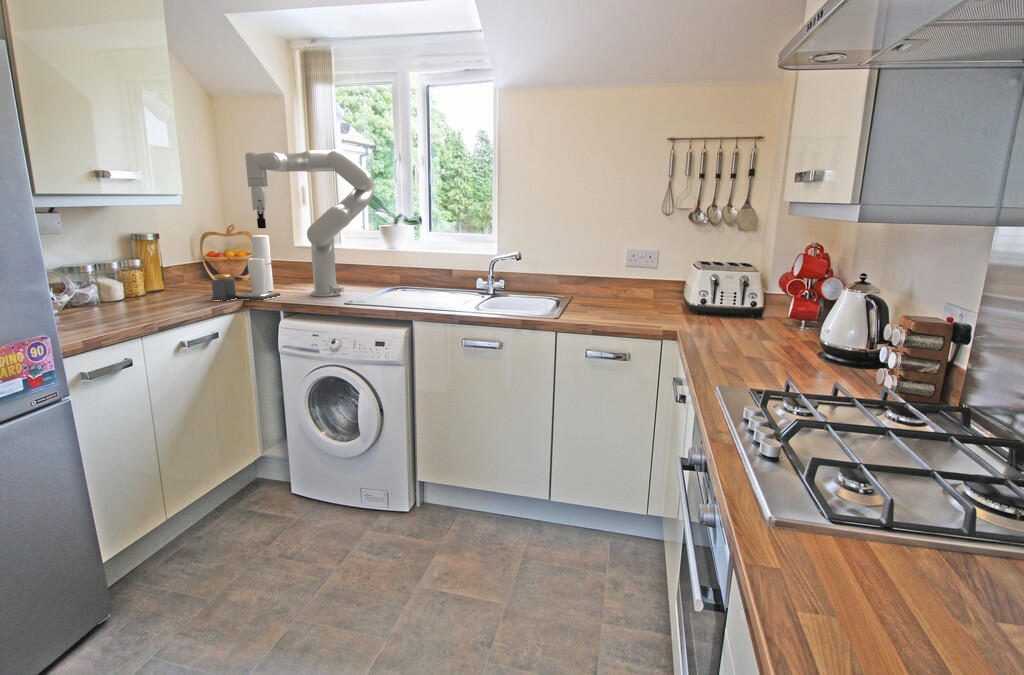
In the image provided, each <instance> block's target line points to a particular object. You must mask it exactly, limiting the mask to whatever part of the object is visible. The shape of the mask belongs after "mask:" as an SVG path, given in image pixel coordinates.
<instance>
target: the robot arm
mask: <svg viewBox="0 0 1024 675" xmlns="http://www.w3.org/2000/svg"><path fill="white" fill-rule="evenodd" d="M244 157H245V167H246V175H247V186H248V187H249V188H250V189H251V190H250V194H251V206H252V211H253V212H256V223H257V228H258V229H267V226H266V218H265V211H266V210H267V205H266V204H267V203H266V202H267V199H266V198H267V197H266V188H268V187H269V186H268V175H267V171H274V172H277V173H279V172H281V173H285V172H287V173H288V172H289V173H290V172H305V173H306V172H307V173H308V172H309V173H310V172H311V173H312V172H313V173H314V172H315V173H316V172H317V173H319V172H335V173H336V174H337V175H339V176H340V177H341V178H343V179H344V180H345V181H346V182H347V183H348V184H349V185H351V186H352V187H353V189H352V191H351V192H350V193H349V194H348V195H346V196H345V198H344V199H342V200H341V201H340V202H338V204H336V205H334V206H331V207H330V208H328V209H327V210H326V211H325V212H324V213H323V214H321V216H319V218H317V219H316V220H315V221H314V222H313V223H312V224H311V225H310V226H308V227H307V228H308V229H307V231H306V238H307V240H308V241H309V242H310V243H311V244H310V245H311V248H310V249H311V261H312V263H311V265H312V276H313V278H312V279H313V280H312V281H313V290H314V291H311V292H310V296H312V297H321V298H322V297H335V296H340V295H341V293H343V292H344V290H345V287H343V286H340V284H339V283H337V273H336V271H337V270H336V255H335V237H336V236H337V235H338V234H339V233H341V231H342V230H343V229H344V228H346V227H347V226H348V225H349V224H350V223H351V222H352V221H353V220H354V218H356V217H357V216H358V215H359V214H360V213H361V212H362V211H363V210H364V209H365V208H366V207H367V206H368V205H369V203H371V201H372V199H373V196H374V192H375V183H374V180H373V176H372V174H371V173H370V172H369V171H368V170H366V169H365V168H364V167H363V166H361V165H360V164H359V163H357V162H356V161H355V160H354V159H353V158H351V157H350V156H349V155H348V153H346V151H344V150H343V149H339V148H336V149H331V150H330V149H327V150H306V151H302V152H297V153H295V152H294V153H293V152H292V153H279V152H277V151H268V152H257V151H256V152H255V151H250V152H246V153H245V156H244Z"/></svg>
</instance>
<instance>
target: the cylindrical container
mask: <svg viewBox="0 0 1024 675" xmlns="http://www.w3.org/2000/svg"><path fill="white" fill-rule="evenodd" d="M250 238H251V246H252V256H253V257H252V258H264V259H265V291H266V292H268V291H273V290H274V280H273V278H274V277H273V268H272V258H271V248H270V246H271V245H270V236H269V235H265V234H260V235H259V234H258V235H251V236H250ZM274 291H275V290H274ZM274 291H273V292H274Z"/></svg>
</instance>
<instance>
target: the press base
mask: <svg viewBox="0 0 1024 675" xmlns="http://www.w3.org/2000/svg"><path fill="white" fill-rule="evenodd" d="M235 283H236V282H235V278H228V279H227V280H219V279H213V280H212V279H211V286H212V287H211V289H212V297H211V301H212V300H220V301H219V302H221V300H222V301H227V300H231V299H235V298H237V299H249V300H248V301H250V300H261V301H260V302H263V301H262V300H264V299H267V298H272V297H277V296H280V297H281V293H280V292H266V293H265V294H263V295H253V294H252V292H249V293H244V294H240V295H237V294H236V293H237V292H236V284H235ZM277 298H278V297H277ZM237 299H236V300H237Z"/></svg>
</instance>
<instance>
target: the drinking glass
mask: <svg viewBox="0 0 1024 675" xmlns="http://www.w3.org/2000/svg"><path fill="white" fill-rule="evenodd" d="M246 263H247V270H248V276H249V282H250V287H251V293H252V294H253V295H263V294H265V293H266V291H265V259H264V258H253V257H251V258H250V257H249V258H247V262H246Z"/></svg>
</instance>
